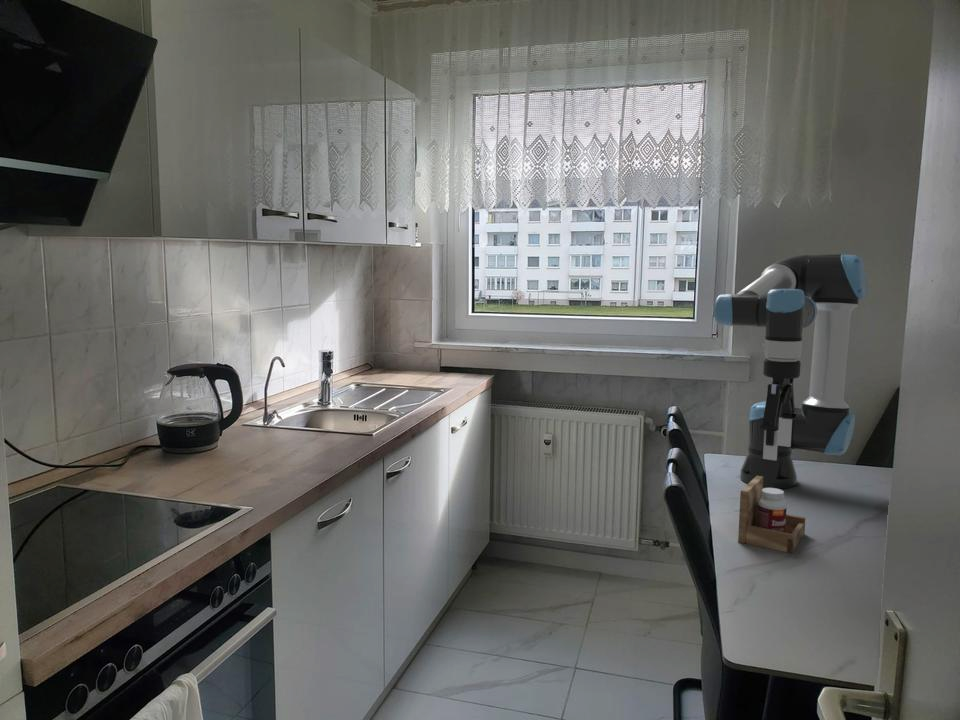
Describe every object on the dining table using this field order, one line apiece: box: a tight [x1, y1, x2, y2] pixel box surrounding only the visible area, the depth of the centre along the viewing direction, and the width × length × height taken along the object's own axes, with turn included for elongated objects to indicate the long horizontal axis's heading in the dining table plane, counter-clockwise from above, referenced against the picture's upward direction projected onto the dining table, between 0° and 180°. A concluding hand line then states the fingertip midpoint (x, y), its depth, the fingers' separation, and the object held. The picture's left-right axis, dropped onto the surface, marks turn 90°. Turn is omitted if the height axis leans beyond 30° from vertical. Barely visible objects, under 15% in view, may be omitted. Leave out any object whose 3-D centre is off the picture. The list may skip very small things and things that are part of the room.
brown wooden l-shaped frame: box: [737, 476, 806, 554], centre depth 164 cm, size 14×11×12 cm
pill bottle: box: [756, 487, 788, 532], centre depth 164 cm, size 6×6×11 cm
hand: (777, 452), depth 162 cm, fingers open, 13 cm apart
